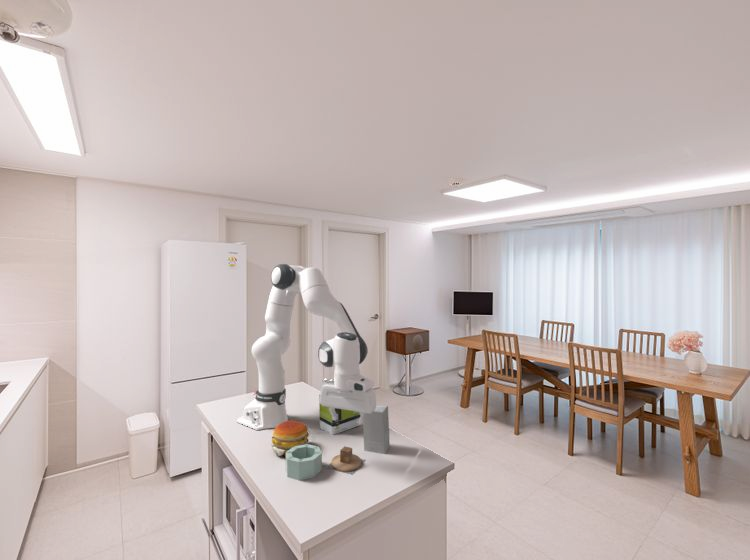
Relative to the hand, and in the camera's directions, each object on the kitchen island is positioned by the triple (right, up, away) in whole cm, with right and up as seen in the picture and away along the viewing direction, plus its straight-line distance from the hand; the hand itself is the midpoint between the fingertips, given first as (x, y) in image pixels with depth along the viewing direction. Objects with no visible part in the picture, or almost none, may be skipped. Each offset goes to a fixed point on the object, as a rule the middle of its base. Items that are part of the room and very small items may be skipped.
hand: (347, 421), depth 118 cm
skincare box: (+10, -15, +11) cm, 21 cm away
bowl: (-14, -15, -4) cm, 21 cm away
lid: (0, -14, 0) cm, 14 cm away
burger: (-22, -15, +10) cm, 28 cm away
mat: (0, -15, 0) cm, 15 cm away
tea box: (-6, -15, +31) cm, 34 cm away
